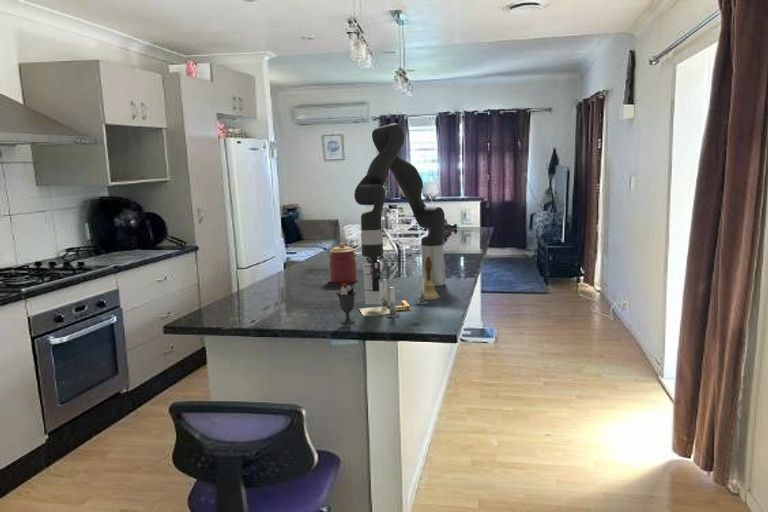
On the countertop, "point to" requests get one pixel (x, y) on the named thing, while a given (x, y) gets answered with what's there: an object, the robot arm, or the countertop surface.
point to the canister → (342, 264)
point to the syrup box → (371, 295)
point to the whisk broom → (429, 282)
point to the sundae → (346, 301)
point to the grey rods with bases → (404, 303)
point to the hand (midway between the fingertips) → (374, 288)
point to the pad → (374, 311)
